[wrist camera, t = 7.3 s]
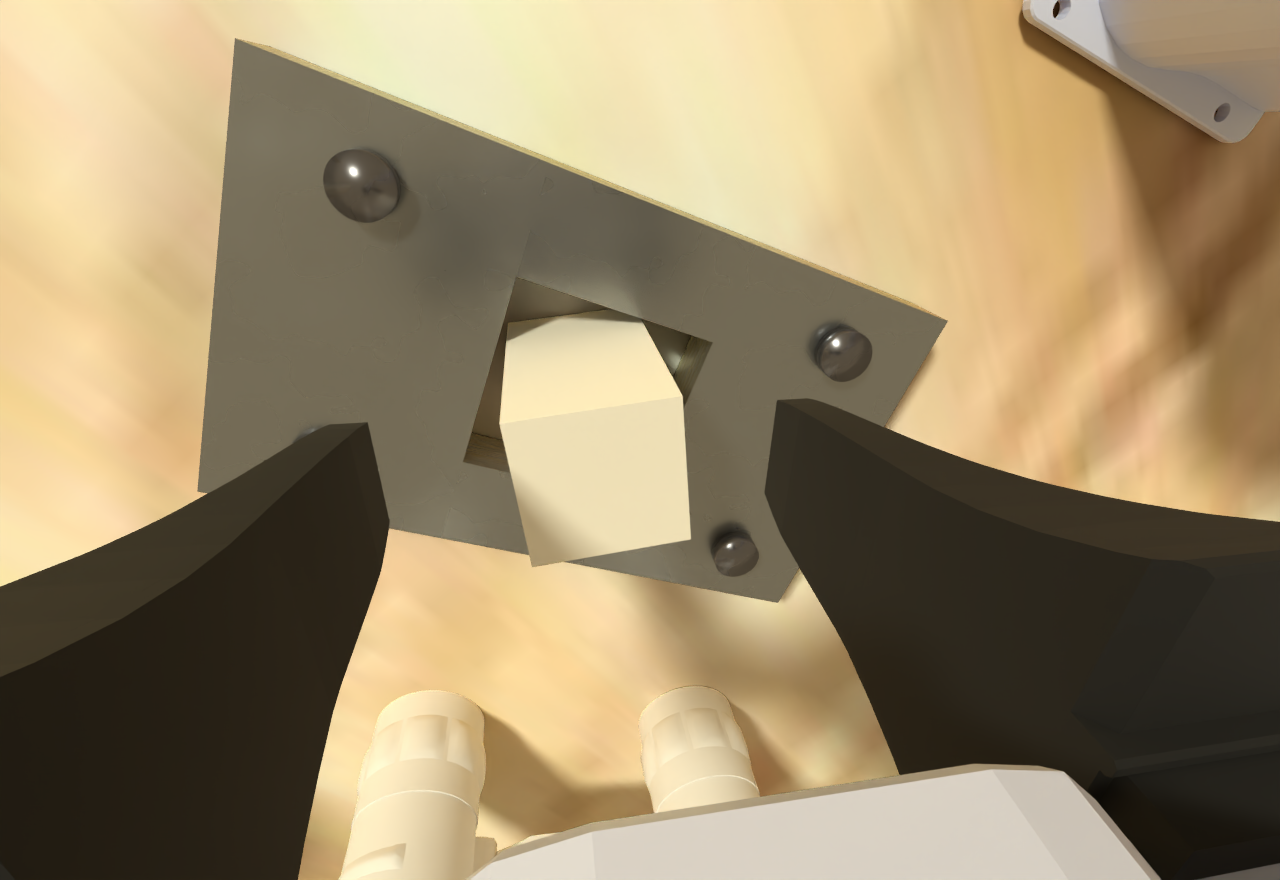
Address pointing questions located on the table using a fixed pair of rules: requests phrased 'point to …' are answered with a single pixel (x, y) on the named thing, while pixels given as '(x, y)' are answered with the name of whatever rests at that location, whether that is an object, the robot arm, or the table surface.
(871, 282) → the table surface
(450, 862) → the binoculars
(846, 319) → the strike plate
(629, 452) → the cream rectangular block
